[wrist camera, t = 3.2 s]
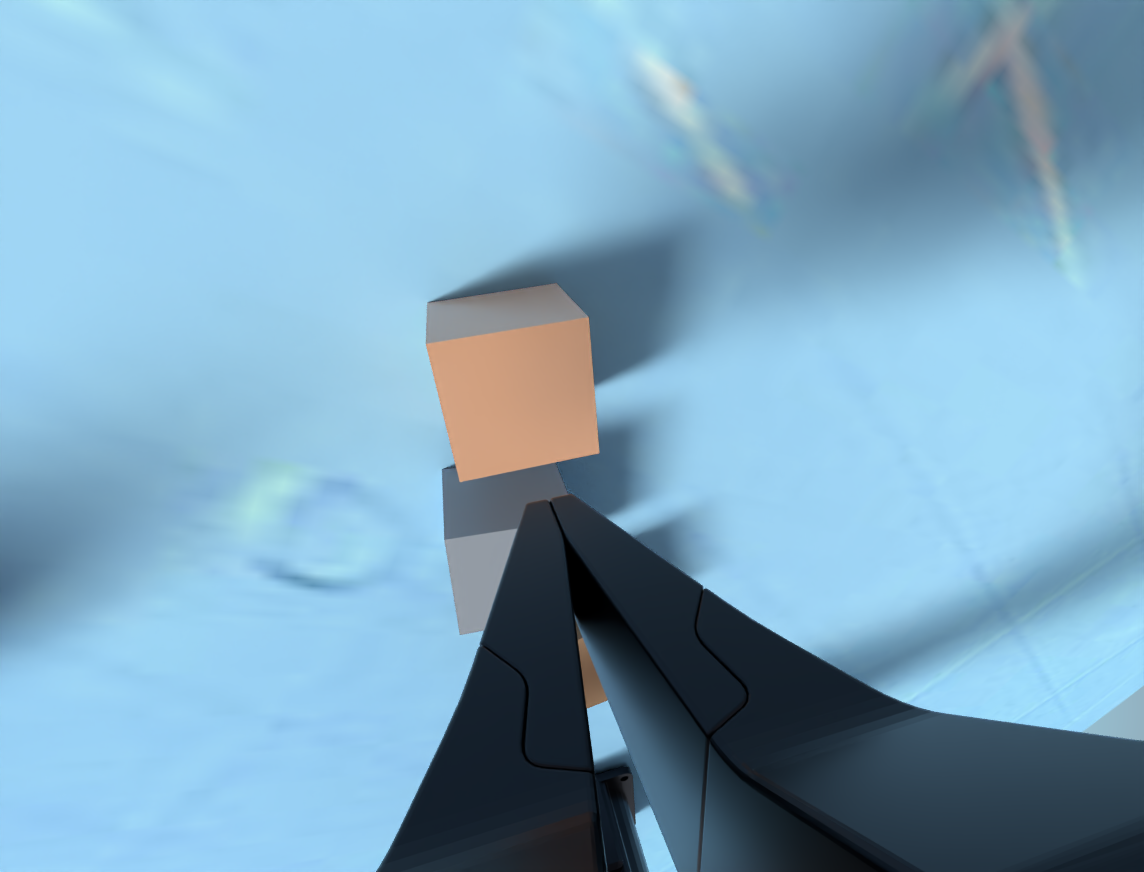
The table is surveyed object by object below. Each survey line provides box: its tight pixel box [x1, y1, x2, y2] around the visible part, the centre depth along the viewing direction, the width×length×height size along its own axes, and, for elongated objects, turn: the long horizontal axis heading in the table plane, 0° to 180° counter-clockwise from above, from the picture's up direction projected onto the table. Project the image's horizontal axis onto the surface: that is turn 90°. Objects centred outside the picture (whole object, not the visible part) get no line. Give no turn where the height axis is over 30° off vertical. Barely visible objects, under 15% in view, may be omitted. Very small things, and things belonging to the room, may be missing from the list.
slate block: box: [442, 462, 568, 635], centre depth 18 cm, size 4×4×4 cm
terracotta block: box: [426, 283, 599, 482], centre depth 15 cm, size 4×4×4 cm
